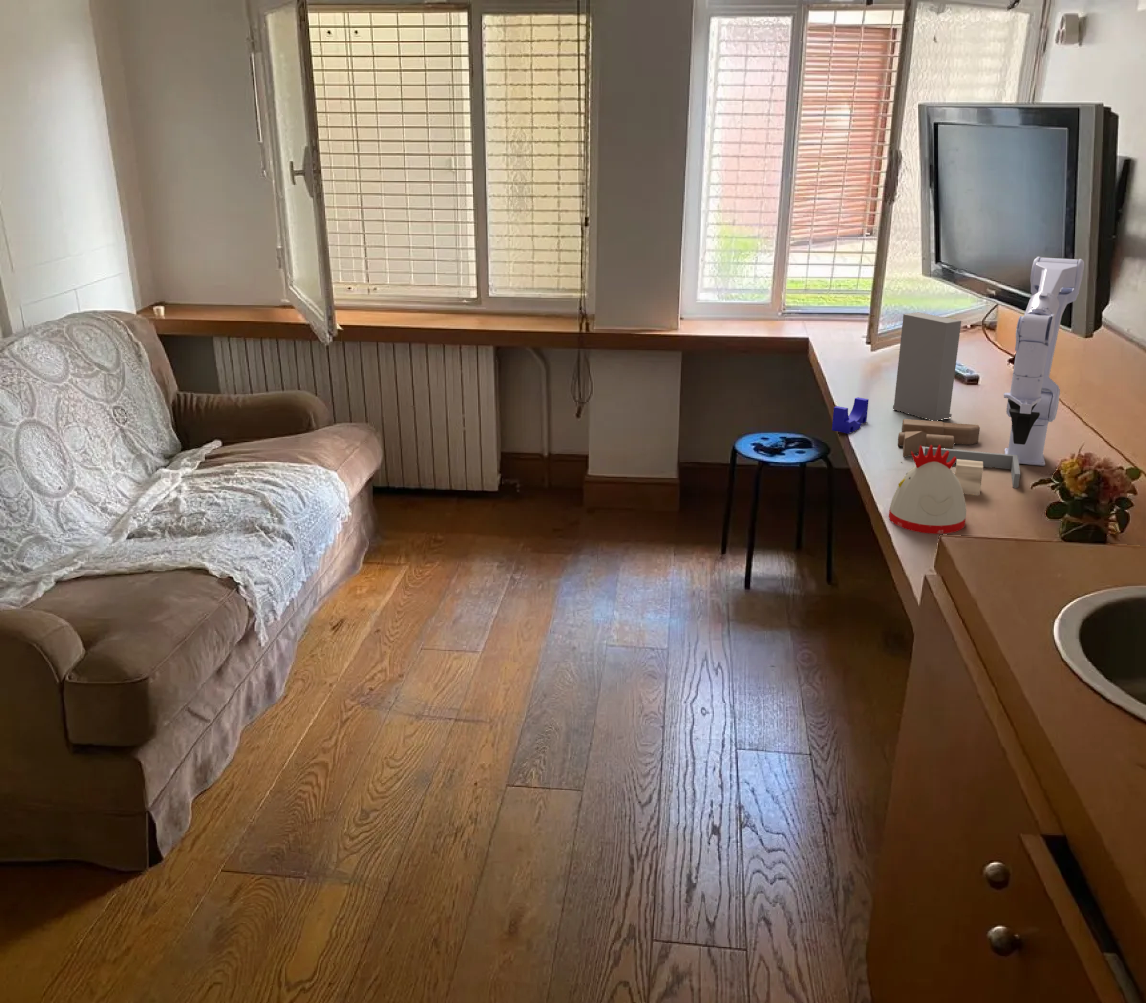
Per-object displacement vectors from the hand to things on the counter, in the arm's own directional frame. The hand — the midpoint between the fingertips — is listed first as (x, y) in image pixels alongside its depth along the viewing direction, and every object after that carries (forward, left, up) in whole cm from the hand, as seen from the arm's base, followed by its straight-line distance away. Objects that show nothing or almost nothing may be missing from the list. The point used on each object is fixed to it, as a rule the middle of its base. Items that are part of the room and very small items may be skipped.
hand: (1018, 438), depth 211 cm
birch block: (+9, -9, -10) cm, 16 cm away
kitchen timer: (+28, -16, -10) cm, 34 cm away
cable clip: (-30, -36, -10) cm, 48 cm away
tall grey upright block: (-46, -20, -10) cm, 51 cm away
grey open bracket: (-2, -9, -9) cm, 13 cm away
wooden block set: (-18, -15, -10) cm, 26 cm away
